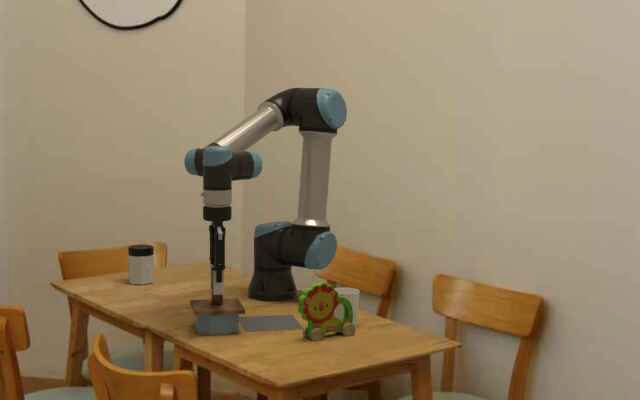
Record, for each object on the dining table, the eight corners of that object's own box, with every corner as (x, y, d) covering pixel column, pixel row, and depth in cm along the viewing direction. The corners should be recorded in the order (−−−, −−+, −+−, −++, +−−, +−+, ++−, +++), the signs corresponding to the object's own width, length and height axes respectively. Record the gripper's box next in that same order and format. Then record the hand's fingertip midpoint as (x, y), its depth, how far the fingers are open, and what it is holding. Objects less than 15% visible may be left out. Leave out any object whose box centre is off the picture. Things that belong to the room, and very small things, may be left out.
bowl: (234, 324, 262) (234, 303, 261) (240, 335, 252) (240, 313, 251) (194, 326, 260) (194, 305, 259) (198, 337, 249) (198, 315, 248)
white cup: (338, 331, 257) (339, 295, 256) (325, 324, 264) (325, 289, 263) (364, 328, 261) (364, 292, 260) (350, 321, 268) (350, 286, 267)
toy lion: (345, 332, 257) (346, 276, 255) (356, 337, 252) (357, 280, 250) (294, 340, 248) (294, 282, 246) (305, 345, 244) (305, 286, 242)
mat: (292, 316, 272) (292, 314, 272) (304, 330, 257) (304, 329, 257) (236, 318, 269) (236, 317, 269) (245, 333, 253) (245, 331, 253)
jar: (136, 286, 307) (136, 249, 306) (122, 282, 313) (122, 246, 312) (159, 282, 314) (159, 246, 312) (145, 278, 319) (145, 243, 318)
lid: (237, 302, 263) (238, 262, 261) (245, 314, 250) (245, 272, 249) (190, 304, 260) (190, 263, 258) (195, 316, 247) (195, 273, 246)
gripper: (199, 200, 259) (199, 284, 262) (206, 210, 241) (206, 300, 244) (226, 200, 261) (226, 283, 264) (236, 209, 243) (236, 299, 246)
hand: (217, 291), depth 254 cm, fingers open, 5 cm apart
